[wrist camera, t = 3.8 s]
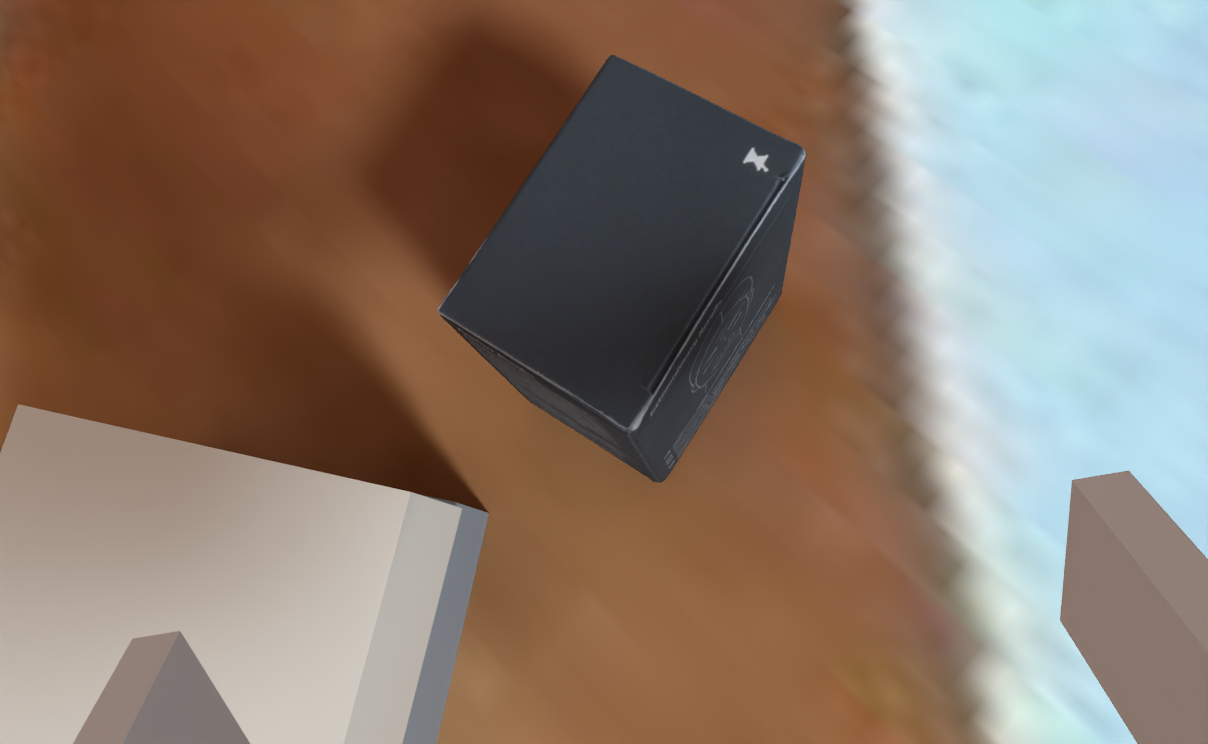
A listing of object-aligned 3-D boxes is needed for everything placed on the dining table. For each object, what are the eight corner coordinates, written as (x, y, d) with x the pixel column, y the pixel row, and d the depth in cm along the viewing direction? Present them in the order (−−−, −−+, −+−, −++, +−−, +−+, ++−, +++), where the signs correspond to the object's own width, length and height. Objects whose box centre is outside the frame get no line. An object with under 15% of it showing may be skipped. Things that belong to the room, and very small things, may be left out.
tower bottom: (199, 455, 32) (118, 434, 28) (490, 513, 30) (453, 501, 26) (102, 777, 30) (-3, 810, 25) (412, 861, 28) (356, 912, 24)
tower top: (128, 433, 28) (18, 404, 23) (462, 508, 26) (410, 491, 21) (1, 807, 25) (-147, 853, 21) (357, 919, 23) (276, 994, 19)
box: (644, 218, 32) (611, 43, 21) (784, 296, 30) (819, 148, 20) (522, 402, 31) (427, 309, 20) (661, 490, 29) (633, 438, 19)
